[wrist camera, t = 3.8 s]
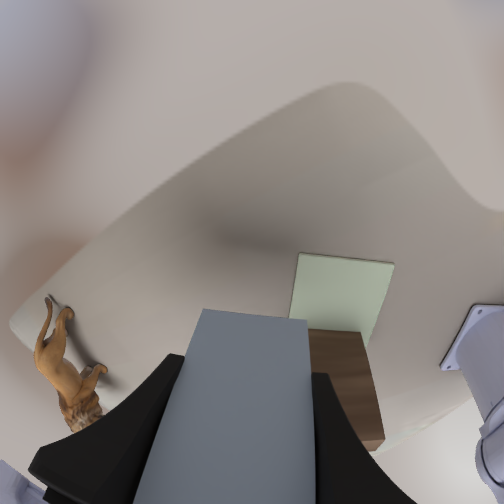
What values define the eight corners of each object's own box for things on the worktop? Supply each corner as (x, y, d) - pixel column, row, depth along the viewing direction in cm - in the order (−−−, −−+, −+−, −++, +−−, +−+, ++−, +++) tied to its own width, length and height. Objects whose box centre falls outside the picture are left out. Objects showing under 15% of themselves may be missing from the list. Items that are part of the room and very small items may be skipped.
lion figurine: (134, 391, 30) (106, 451, 22) (104, 390, 31) (76, 443, 23) (61, 290, 24) (7, 346, 16) (37, 298, 25) (-12, 347, 17)
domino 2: (300, 327, 22) (301, 441, 13) (360, 331, 22) (385, 439, 13) (296, 342, 23) (295, 452, 14) (355, 346, 22) (375, 450, 13)
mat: (393, 263, 19) (395, 265, 19) (314, 448, 31) (314, 450, 31) (299, 252, 20) (299, 254, 19) (262, 445, 32) (261, 447, 32)
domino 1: (203, 308, 14) (130, 510, 5) (307, 319, 14) (314, 536, 5) (204, 333, 15) (144, 519, 6) (301, 343, 14) (302, 541, 5)
